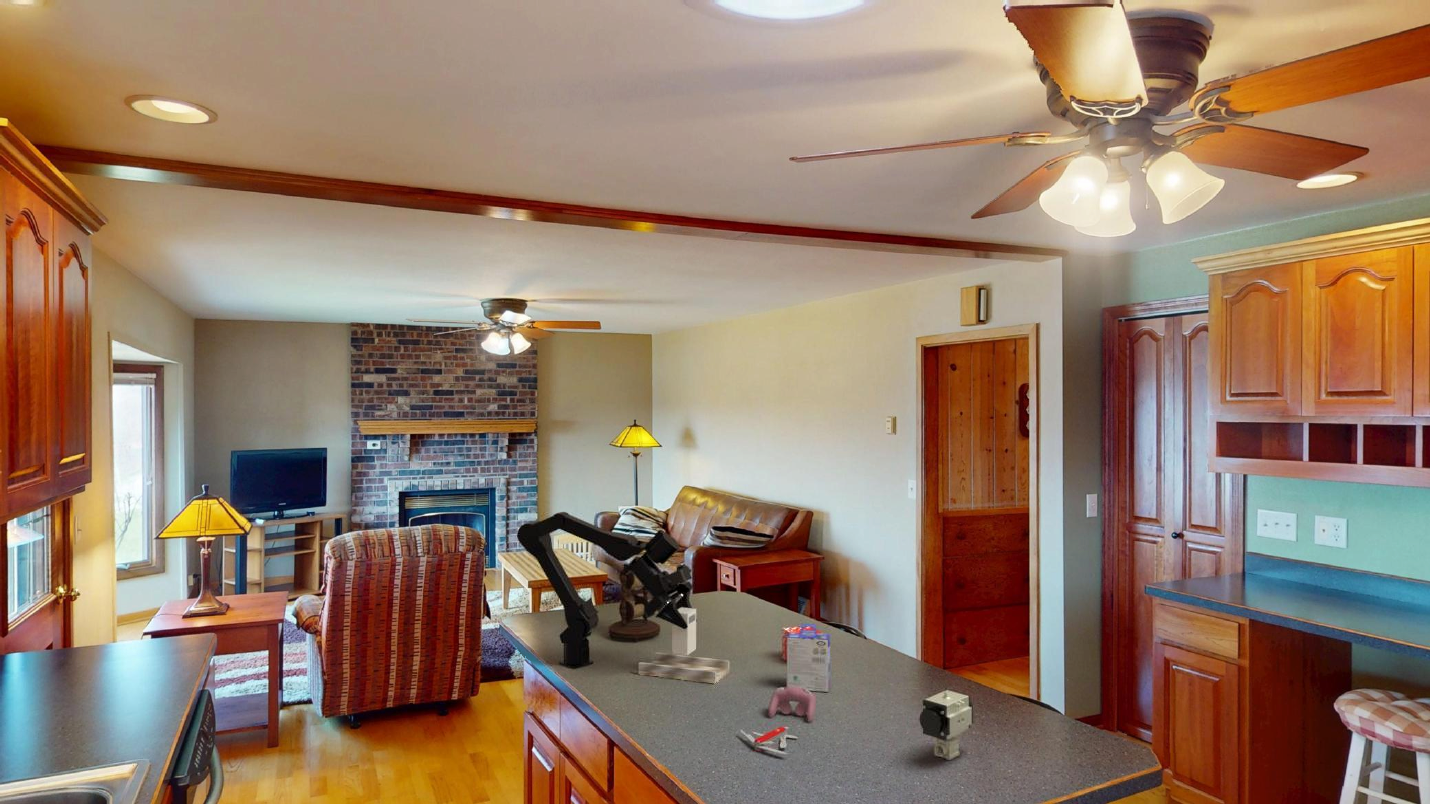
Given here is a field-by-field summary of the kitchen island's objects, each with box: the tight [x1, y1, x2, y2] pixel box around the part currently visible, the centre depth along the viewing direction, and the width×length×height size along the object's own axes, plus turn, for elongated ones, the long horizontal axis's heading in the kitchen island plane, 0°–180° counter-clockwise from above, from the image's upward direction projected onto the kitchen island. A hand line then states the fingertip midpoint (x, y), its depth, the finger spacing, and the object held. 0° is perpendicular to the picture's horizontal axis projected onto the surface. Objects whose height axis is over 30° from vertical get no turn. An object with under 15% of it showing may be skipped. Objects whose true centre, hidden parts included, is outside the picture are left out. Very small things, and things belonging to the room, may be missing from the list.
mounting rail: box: [638, 651, 730, 685], centre depth 206 cm, size 20×10×3 cm, turn 69°
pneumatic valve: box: [919, 688, 974, 761], centre depth 157 cm, size 6×12×12 cm, turn 133°
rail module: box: [671, 607, 697, 656], centre depth 206 cm, size 4×6×10 cm
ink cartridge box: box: [786, 622, 831, 693], centre depth 195 cm, size 10×6×14 cm, turn 78°
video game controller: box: [767, 686, 817, 723], centre depth 178 cm, size 10×5×7 cm, turn 72°
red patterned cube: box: [781, 626, 824, 662], centre depth 216 cm, size 8×8×8 cm
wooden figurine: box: [608, 568, 661, 643], centre depth 240 cm, size 15×15×20 cm
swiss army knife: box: [739, 726, 799, 756], centre depth 163 cm, size 12×14×2 cm
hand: (691, 625), depth 205 cm, fingers closed on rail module, 5 cm apart
